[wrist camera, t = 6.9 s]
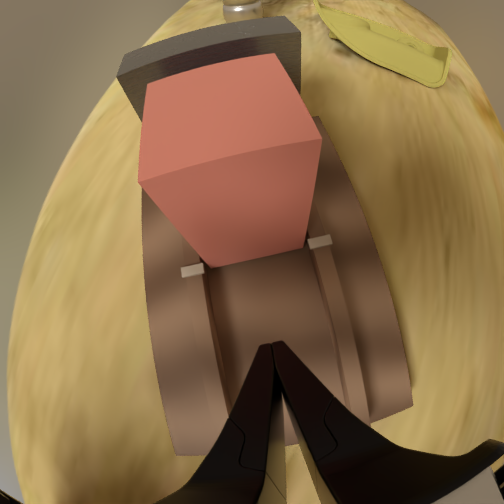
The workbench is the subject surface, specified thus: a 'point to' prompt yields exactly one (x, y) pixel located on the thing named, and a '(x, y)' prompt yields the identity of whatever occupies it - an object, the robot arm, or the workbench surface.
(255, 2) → the plastic bottle
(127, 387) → the workbench surface
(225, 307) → the wooden pallet
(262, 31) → the end stop
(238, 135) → the pink rectangular block
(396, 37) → the plastic component
